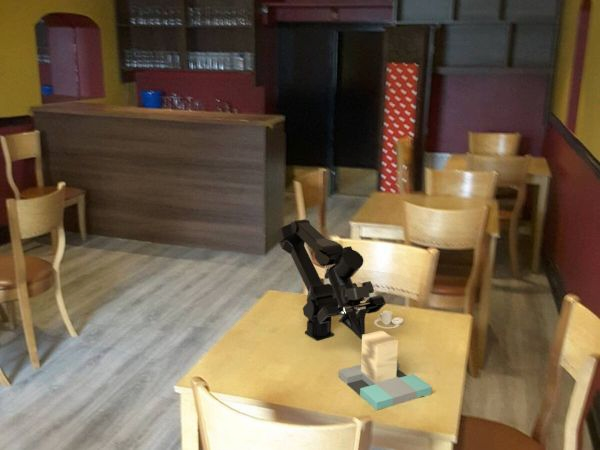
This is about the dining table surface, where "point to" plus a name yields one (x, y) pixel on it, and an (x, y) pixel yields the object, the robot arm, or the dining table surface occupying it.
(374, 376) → the maple block
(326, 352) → the dining table surface
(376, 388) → the mint green slab
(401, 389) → the board
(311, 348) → the dining table surface
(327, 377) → the dining table surface
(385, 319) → the teacup and saucer
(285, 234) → the robot arm
